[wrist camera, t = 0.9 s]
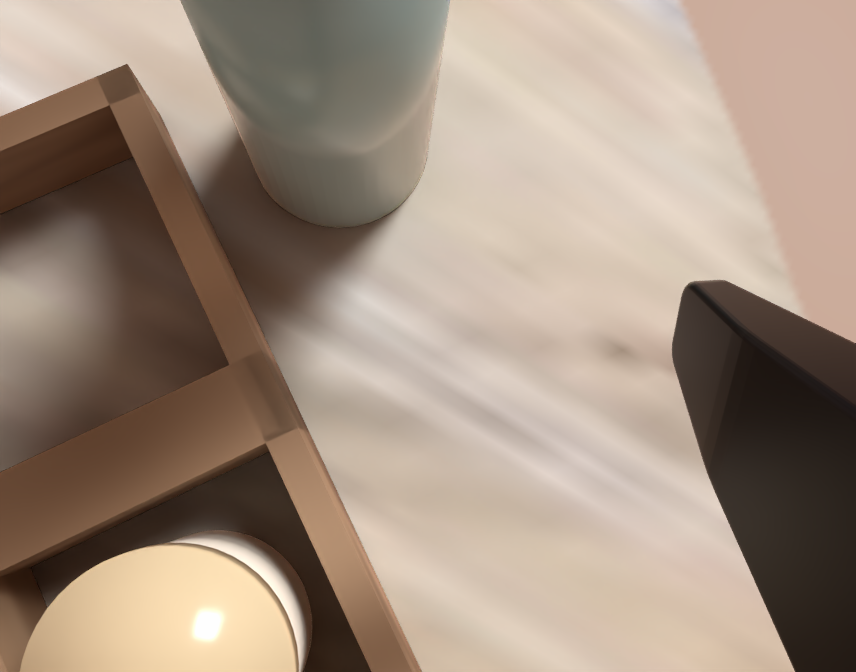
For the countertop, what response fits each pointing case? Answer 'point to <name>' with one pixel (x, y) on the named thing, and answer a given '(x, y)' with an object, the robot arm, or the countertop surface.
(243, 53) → the tall jar
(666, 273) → the countertop surface
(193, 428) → the caddy
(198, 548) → the cream lidded jar
